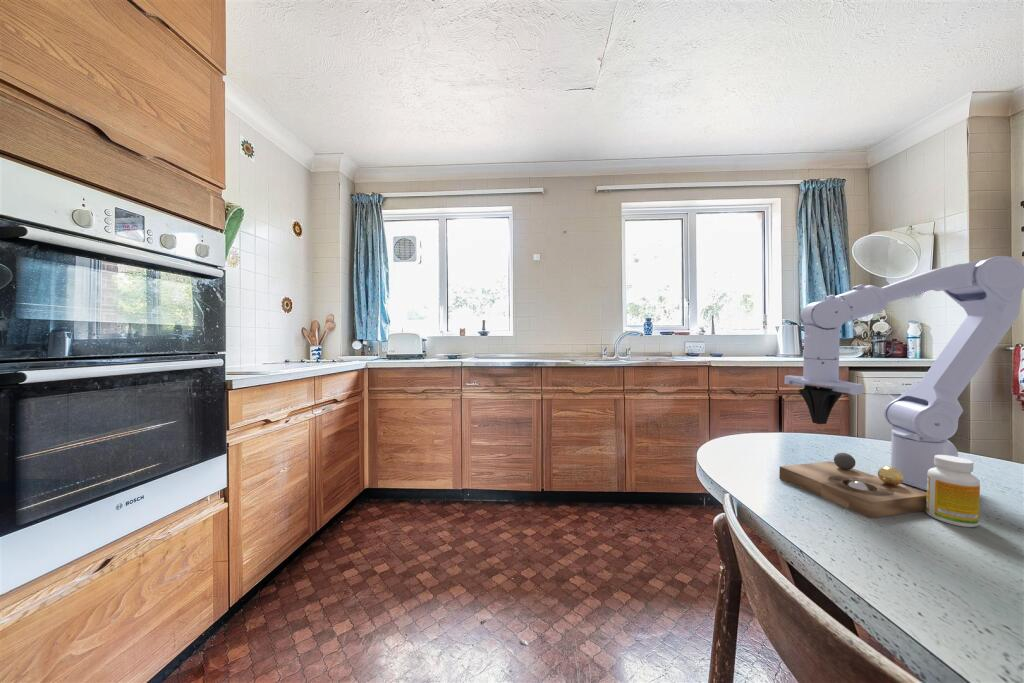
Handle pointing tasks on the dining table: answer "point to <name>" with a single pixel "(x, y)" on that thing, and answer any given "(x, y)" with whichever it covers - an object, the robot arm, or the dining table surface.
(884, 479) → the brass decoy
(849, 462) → the gray ball
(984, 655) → the dining table surface
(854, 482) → the steel ball
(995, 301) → the robot arm
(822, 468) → the brown wooden hole board
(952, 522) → the supplement bottle
